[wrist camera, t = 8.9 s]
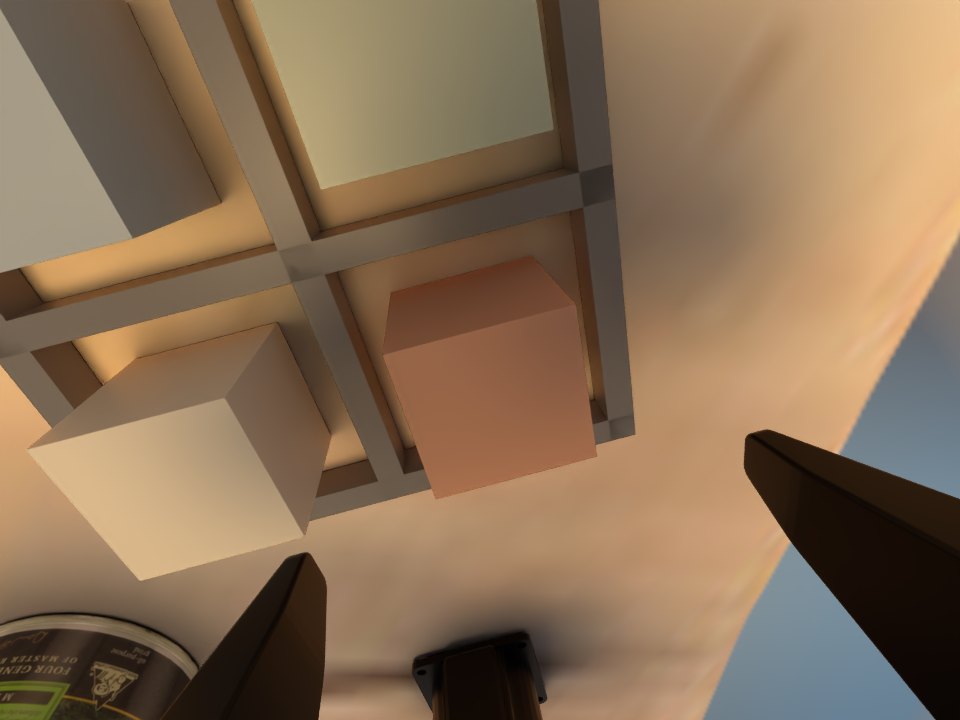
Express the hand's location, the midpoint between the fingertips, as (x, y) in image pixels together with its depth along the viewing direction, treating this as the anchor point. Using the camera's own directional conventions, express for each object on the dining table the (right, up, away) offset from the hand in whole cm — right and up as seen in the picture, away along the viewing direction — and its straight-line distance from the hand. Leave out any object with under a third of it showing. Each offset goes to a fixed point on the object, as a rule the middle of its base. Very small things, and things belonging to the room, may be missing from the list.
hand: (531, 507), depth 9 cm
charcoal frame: (-6, +7, +6) cm, 11 cm away
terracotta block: (-1, +4, +8) cm, 9 cm away
